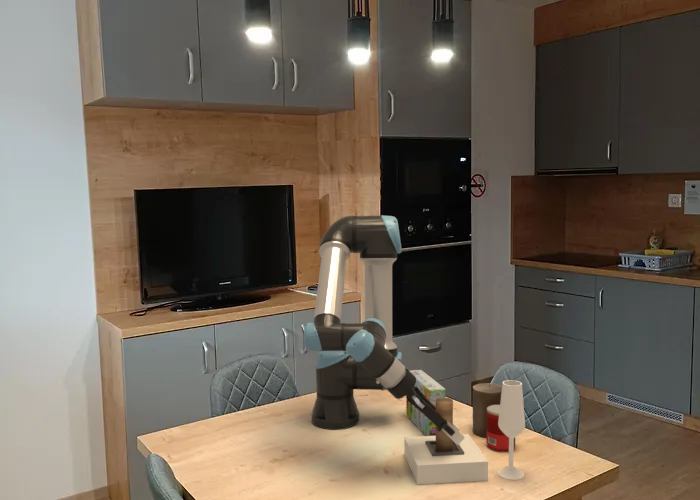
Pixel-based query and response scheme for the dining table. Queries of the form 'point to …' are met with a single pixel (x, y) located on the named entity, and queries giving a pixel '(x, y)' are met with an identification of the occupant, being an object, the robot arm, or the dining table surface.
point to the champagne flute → (511, 422)
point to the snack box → (432, 393)
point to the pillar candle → (484, 405)
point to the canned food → (496, 431)
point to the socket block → (445, 461)
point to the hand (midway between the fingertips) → (458, 437)
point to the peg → (446, 411)
